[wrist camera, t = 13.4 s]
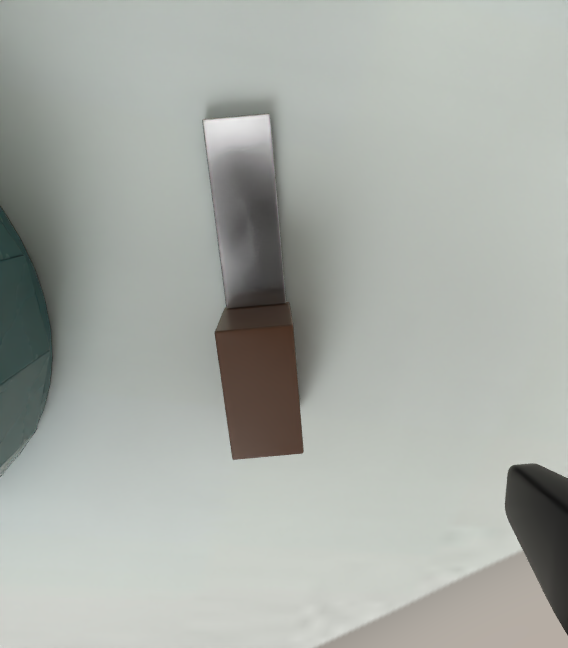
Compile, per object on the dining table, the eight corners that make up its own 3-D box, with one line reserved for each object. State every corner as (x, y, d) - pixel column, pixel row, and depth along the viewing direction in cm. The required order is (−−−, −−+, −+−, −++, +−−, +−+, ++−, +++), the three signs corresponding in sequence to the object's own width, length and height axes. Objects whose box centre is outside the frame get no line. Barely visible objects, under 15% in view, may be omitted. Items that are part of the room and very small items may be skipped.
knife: (199, 121, 11) (182, 102, 9) (273, 114, 11) (274, 94, 9) (238, 417, 14) (232, 460, 12) (298, 411, 14) (304, 454, 12)
